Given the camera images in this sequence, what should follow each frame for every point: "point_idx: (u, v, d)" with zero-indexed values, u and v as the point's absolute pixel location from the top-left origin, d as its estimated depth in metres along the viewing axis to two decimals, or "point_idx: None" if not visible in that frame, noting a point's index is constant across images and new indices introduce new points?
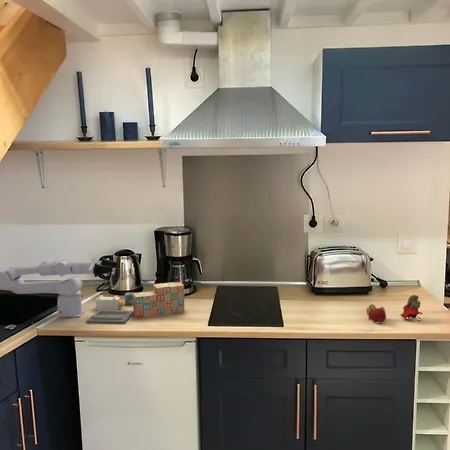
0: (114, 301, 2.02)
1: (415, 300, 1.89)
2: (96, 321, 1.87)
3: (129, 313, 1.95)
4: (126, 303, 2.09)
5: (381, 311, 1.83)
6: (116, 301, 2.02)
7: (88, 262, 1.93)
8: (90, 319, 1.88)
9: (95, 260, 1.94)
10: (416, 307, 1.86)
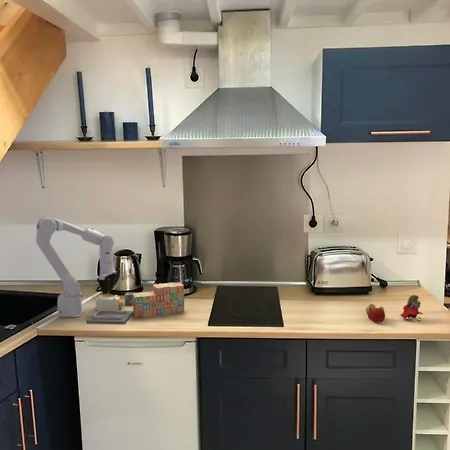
0: (114, 301, 2.03)
1: (415, 300, 1.89)
2: (96, 321, 1.87)
3: (129, 313, 1.95)
4: (126, 303, 2.09)
5: (380, 311, 1.83)
6: (116, 301, 2.03)
7: (111, 268, 2.01)
8: (90, 319, 1.88)
9: (113, 272, 2.03)
10: (416, 307, 1.86)
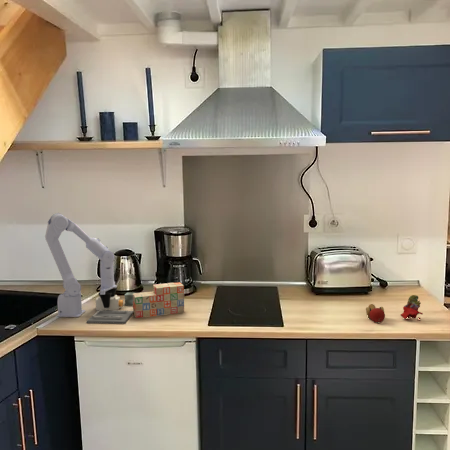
0: (114, 301, 2.03)
1: (415, 300, 1.89)
2: (96, 321, 1.87)
3: (129, 313, 1.95)
4: (126, 303, 2.09)
5: (380, 311, 1.84)
6: (116, 301, 2.03)
7: (112, 282, 2.02)
8: (90, 319, 1.88)
9: None
10: (416, 307, 1.86)
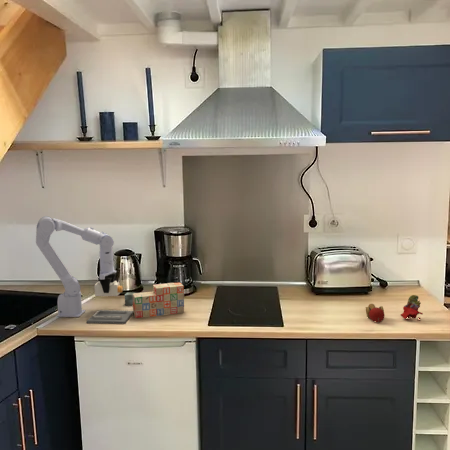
0: (113, 286, 2.01)
1: (415, 300, 1.89)
2: (96, 321, 1.87)
3: (129, 313, 1.95)
4: (126, 303, 2.09)
5: (379, 310, 1.84)
6: (115, 286, 2.00)
7: (111, 267, 2.00)
8: (90, 319, 1.88)
9: (113, 272, 2.02)
10: (416, 307, 1.86)
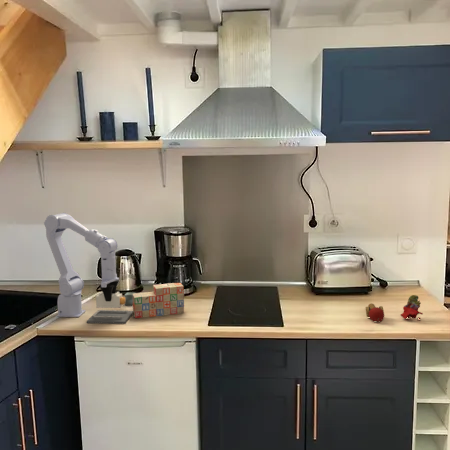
0: (115, 298, 1.89)
1: (415, 300, 1.89)
2: (96, 321, 1.87)
3: (129, 313, 1.95)
4: (126, 303, 2.09)
5: (379, 310, 1.84)
6: (117, 298, 1.89)
7: (114, 274, 1.89)
8: (90, 319, 1.88)
9: (116, 279, 1.91)
10: (416, 307, 1.86)
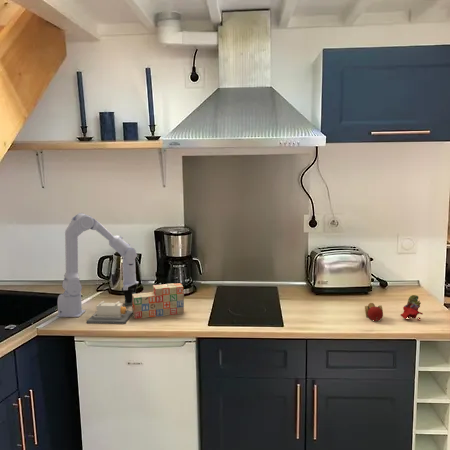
0: (116, 307, 1.90)
1: (415, 300, 1.89)
2: (96, 321, 1.87)
3: (129, 313, 1.95)
4: (126, 303, 2.09)
5: (378, 309, 1.85)
6: (118, 307, 1.90)
7: (134, 278, 2.08)
8: (90, 319, 1.88)
9: None
10: (416, 307, 1.86)
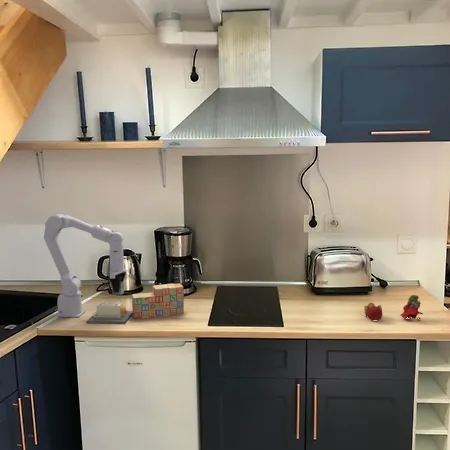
0: (116, 307, 1.90)
1: (415, 300, 1.89)
2: (96, 321, 1.87)
3: (129, 313, 1.95)
4: (113, 292, 1.97)
5: (377, 309, 1.85)
6: (118, 307, 1.90)
7: (122, 266, 1.96)
8: (90, 319, 1.88)
9: (124, 271, 1.98)
10: (416, 307, 1.86)
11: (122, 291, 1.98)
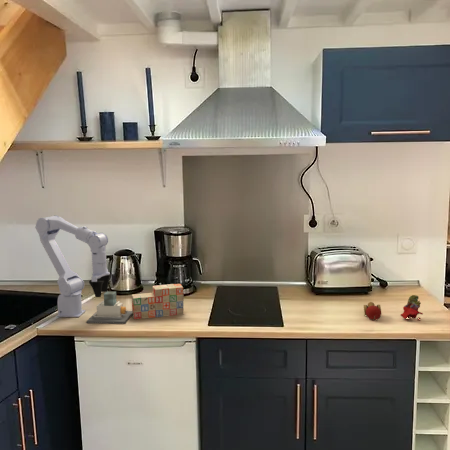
0: (116, 307, 1.90)
1: (415, 300, 1.89)
2: (96, 321, 1.87)
3: (129, 313, 1.95)
4: (105, 303, 1.90)
5: (376, 308, 1.86)
6: (118, 307, 1.90)
7: (105, 269, 1.89)
8: (90, 319, 1.88)
9: (107, 274, 1.90)
10: (416, 307, 1.86)
11: (114, 302, 1.91)
